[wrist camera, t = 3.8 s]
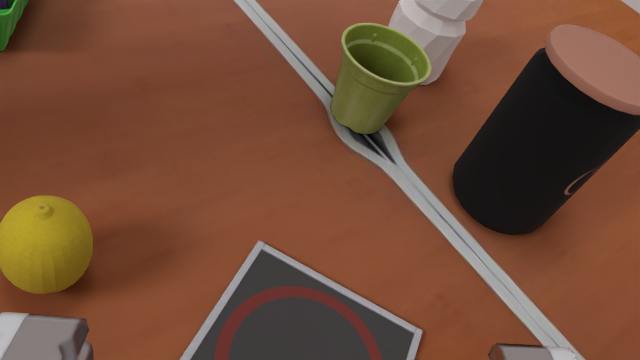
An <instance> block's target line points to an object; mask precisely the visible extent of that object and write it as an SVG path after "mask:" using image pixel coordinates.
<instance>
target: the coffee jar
mask: <svg viewBox="0 0 640 360" xmlns="http://www.w3.org/2000/svg"><path fill="white" fill-rule="evenodd" d="M639 129H640V57H639V56H637V55H636V54H635V53H634V52H632V51H631V50H630V49H628V48H627V47H625V46H624V45H622V44H620V43H619V42H617V41H615V40H614V39H612V38H610V37H608V36H606V35H604V34H601V33H599V32H597V31H595V30H591V29H588V28H585V27H582V26H578V25H568V24H564V25H560V26H556V27H554V29H553V30H552V31H551V32H550V33H549V35H548V37H547V38H546V40H545V48H542V49H539V50H538V51H537V52H536V53H535V54H534V56H533V57H532V58H531V59H530V61H529V62H528V64H527V65H526V66H525V68H524V69H523V71H522V72H521V73H520V75H519V76H518V77H517V79H516V80H515V82H514V83H513V84H512V86H511V87H510V89H509V90H508V91H507V93H506V94H505V96H504V97H503V98H502V100H501V101H500V102H499V104H498V105H497V107H496V108H495V109H494V111H493V112H492V114H491V115H490V116H489V118H488V119H487V120H486V122H485V123H484V125H483V126H482V127H481V129H480V130H479V132H478V133H477V134H476V136H475V137H474V139H473V140H472V141H471V143H470V144H469V145H468V147H467V148H466V150H465V151H464V152H463V154H462V155H461V157H460V158H459V159H458V161H457V162H456V164H455V166H454V172H453V186H454V190H455V194H456V197H457V198H458V200H459V202H460V203H461V205H462V207H463V208H464V209H465V210H466V211H467V212H468V213H469V214H470V215H471V216H472V217H473V218H474V219H475V220H477V221H478V222H479V223H481V224H482V225H484V226H485V227H488V228H490V229H492V230H494V231H496V232H500V233H505V234H521V233H529V232H532V231H534V230H536V229H537V228H539V227H540V226H542V225H543V224H544V223H545V222H546V221H547V220H548V219H549V218H550V217H551V216H552V215H553V214H554V213H555V212H556V211H557V210H558V209H559V208H560V207H561V206H562V205H563V204H564V203H565V202H566V201H567V200H568V199H569V198H570V197H571V196H572V195H573V194H574V193H575V192H576V191H577V190H578V189H579V188H580V187H581V186H582V185H583V184H584V183H585V182H586V181H587V180H588V179H589V178H590V177H591V176H592V175H593V174H594V173H595V172H596V171H597V170H598V169H600V168H601V167H602V166H603V165H604V164H605V163H606V162H607V161H608V160H609V159H610V158H611V157H612V156H613V155H614V154H615V153H616V152H617V151H618V150H619V149H620V148H621V147H622V146H623V145H624V144H625V143H626V142H627V141H628V140H629V139H630V138H631V137H632V136H633V135H634V134H635V133H636V132H637V131H638V130H639Z"/></svg>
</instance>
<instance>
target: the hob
mask: <svg viewBox="0 0 640 360" xmlns="http://www.w3.org/2000/svg"><path fill="white" fill-rule="evenodd" d="M422 333H423V331H422V330H420V329H419V328H416V327H415V326H413V325H411V324H410V323H408V322H406V321H404V320H402V319H401V318H399V317H397V316H395V315H393V314H391V313H390V312H388V311H386V310H384V309H382V308H381V307H379V306H377V305H375V304H373V303H372V302H370V301H368V300H366V299H364V298H362V297H361V296H359V295H357V294H355V293H353V292H352V291H350V290H348V289H346V288H344V287H343V286H341V285H339V284H337V283H335V282H334V281H332V280H330V279H328V278H326V277H324V276H323V275H321V274H319V273H317V272H315V271H314V270H312V269H310V268H308V267H306V266H305V265H303V264H301V263H299V262H297V261H296V260H294V259H292V258H290V257H288V256H286V255H285V254H283V253H281V252H279V251H277V250H276V249H274V248H272V247H270V246H268V245H267V244H265V243H263V242H261V241H258V242H257V244H256V245H255V247H254V248H253V250H252V251H251V253H250V254H249V256H248V257H247V259H246V260H245V262H244V263H243V265H242V266H241V268H240V269H239V271H238V272H237V274H236V275H235V277H234V278H233V280H232V281H231V283H230V284H229V286H228V287H227V289H226V290H225V292H224V293H223V295H222V296H221V298H220V299H219V301H218V302H217V304H216V305H215V307H214V308H213V310H212V312H211V313H210V315H209V316H208V318H207V319H206V321H205V322H204V324H203V325H202V327H201V328H200V330H199V331H198V333H197V334H196V336H195V337H194V339H193V340H192V342H191V343H190V345H189V346H188V348H187V349H186V351H185V352H184V354H183V355H182V357H181V358H180V360H414V359H415V356H416V353H417V349H418V346H419V343H420V339H421V336H422Z"/></svg>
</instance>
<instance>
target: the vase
mask: <svg viewBox="0 0 640 360" xmlns="http://www.w3.org/2000/svg"><path fill="white" fill-rule="evenodd" d="M483 1H484V0H400V1H399V3H398V5H397V7H396V9H395V11H394V13H393V15H392V17H391V20H390V22H389V25H388V27H390V28H393V29H395V30H397V31H399V32H401V33H403V34H405V35H406V36H408V37H409V38H411V39H412V40H414V41H415V42H416V43H417V44H418V45H419V46H420V47H421V48H422V49H423V50H424V51H425V53H426V54H427V56H428V58H429V60H430V63H431V73H430V75H429V77H428V78H427V79H426V80H425V81H424V82H423V83H421V84H420V85H428V84H430V83H431V82H433V81H435V80H437V78H438V77H440V75H441V73H442V71H443V70H444V68H445V66H446V64H447V62H448V60H449V58H450V56H451V54H452V53H453V51H454V50H455V48H456V47H457V45H458V44H459V42H460V41H461V39H462V37H463V36H464V34H465V33H466V28H465V20H470V19H471V18H472V17H473V16H474V15H475V14H476V12H477V10H478V8H479V7H480V5H481V4H482V2H483Z"/></svg>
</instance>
